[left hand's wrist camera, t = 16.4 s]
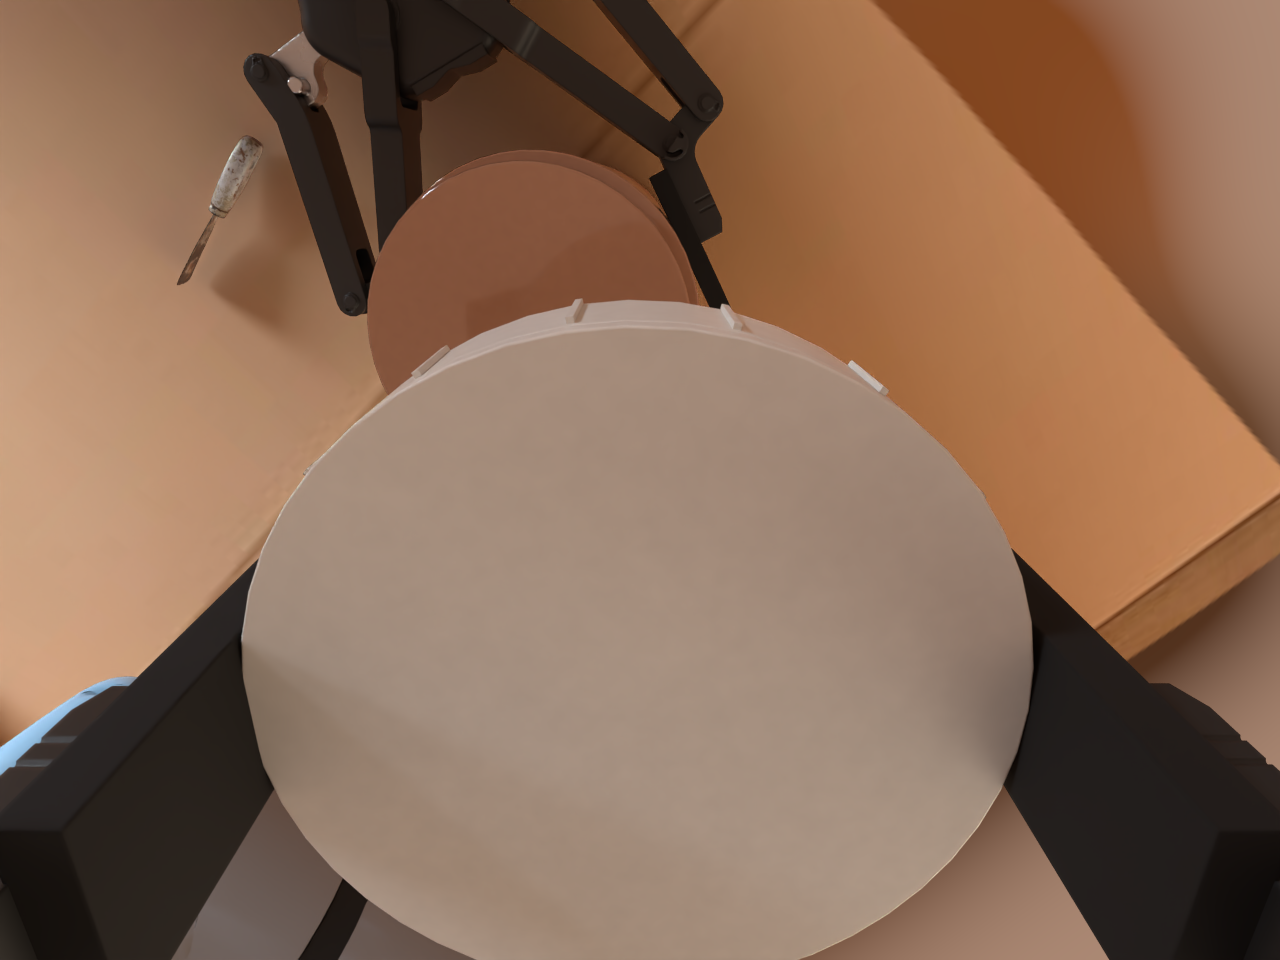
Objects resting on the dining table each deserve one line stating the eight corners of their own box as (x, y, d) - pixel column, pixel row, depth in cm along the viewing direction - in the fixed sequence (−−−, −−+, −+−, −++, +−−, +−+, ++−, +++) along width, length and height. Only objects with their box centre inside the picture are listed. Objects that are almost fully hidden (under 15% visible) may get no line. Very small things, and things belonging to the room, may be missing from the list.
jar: (493, 370, 40) (386, 504, 24) (468, 166, 36) (322, 156, 20) (681, 361, 40) (707, 491, 23) (676, 156, 36) (701, 137, 20)
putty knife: (270, 145, 36) (253, 144, 34) (204, 289, 38) (185, 293, 37) (250, 132, 36) (232, 130, 34) (185, 277, 38) (165, 281, 37)
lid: (1120, 512, 12) (1218, 579, 10) (748, 954, 15) (765, 1070, 13) (472, 142, 10) (430, 132, 8) (217, 742, 13) (142, 840, 11)
